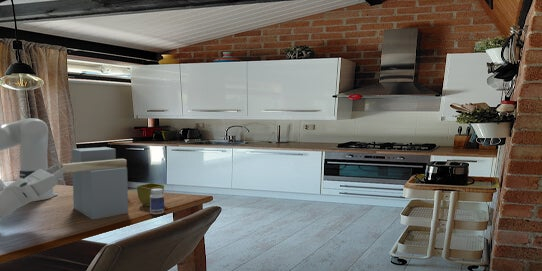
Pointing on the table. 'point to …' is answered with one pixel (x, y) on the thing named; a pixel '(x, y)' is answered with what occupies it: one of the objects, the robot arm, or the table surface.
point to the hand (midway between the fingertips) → (61, 167)
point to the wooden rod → (94, 165)
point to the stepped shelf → (99, 185)
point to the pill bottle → (156, 201)
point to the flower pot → (147, 192)
